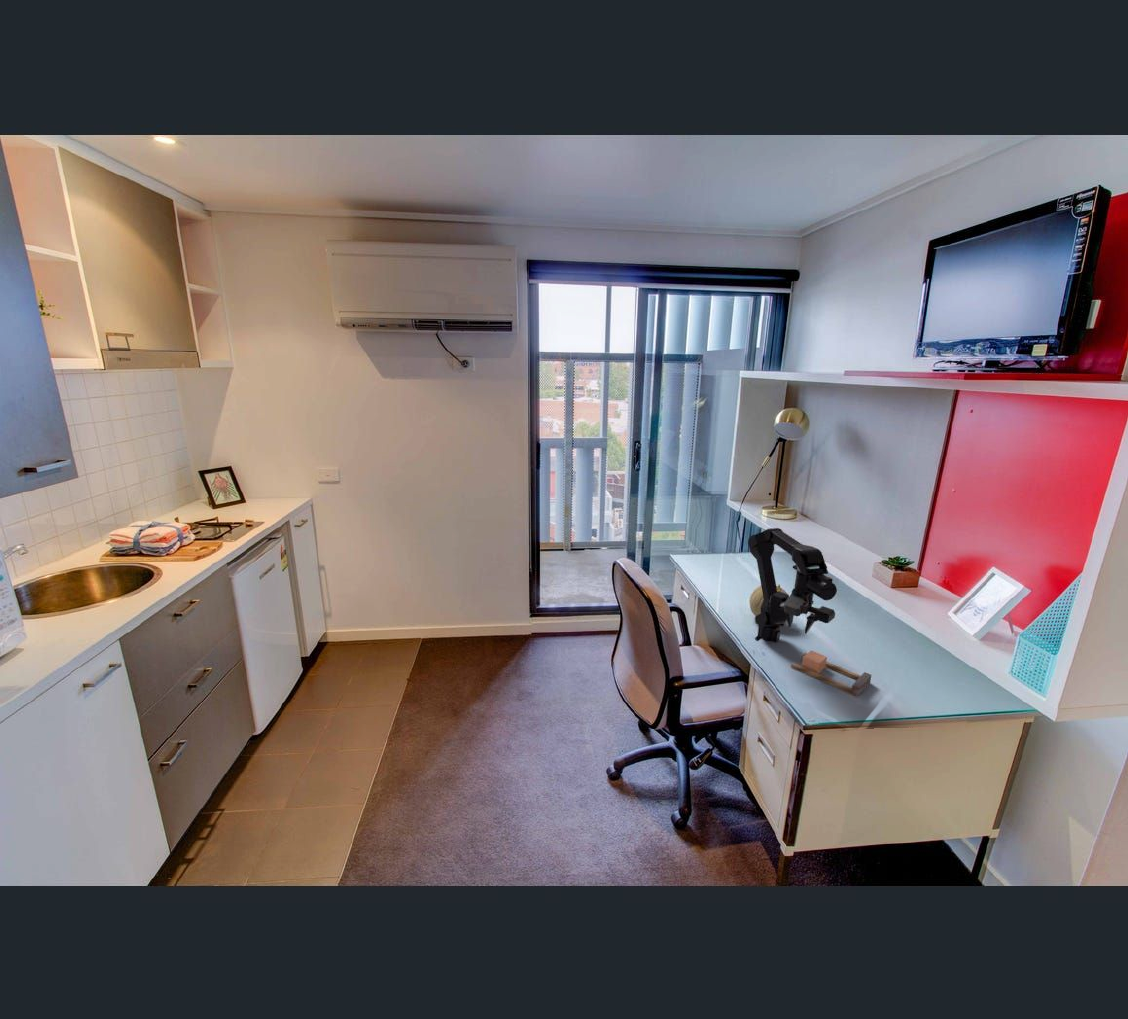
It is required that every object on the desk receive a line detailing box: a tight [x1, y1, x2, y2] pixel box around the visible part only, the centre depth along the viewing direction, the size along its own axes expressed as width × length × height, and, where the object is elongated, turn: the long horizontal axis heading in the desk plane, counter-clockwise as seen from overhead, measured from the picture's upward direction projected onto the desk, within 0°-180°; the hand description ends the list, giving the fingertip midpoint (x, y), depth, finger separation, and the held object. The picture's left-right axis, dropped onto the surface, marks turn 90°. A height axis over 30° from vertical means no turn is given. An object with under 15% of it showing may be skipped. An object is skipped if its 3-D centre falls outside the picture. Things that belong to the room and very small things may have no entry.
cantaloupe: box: [749, 584, 788, 617], centre depth 190 cm, size 15×15×15 cm
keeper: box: [801, 650, 828, 674], centre depth 159 cm, size 5×6×4 cm
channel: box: [790, 652, 872, 697], centre depth 156 cm, size 20×10×4 cm, turn 41°
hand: (797, 630), depth 161 cm, fingers open, 5 cm apart
